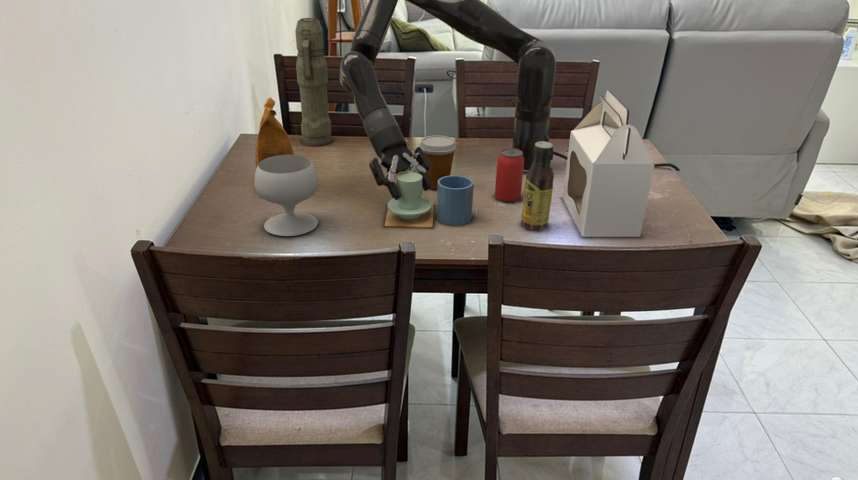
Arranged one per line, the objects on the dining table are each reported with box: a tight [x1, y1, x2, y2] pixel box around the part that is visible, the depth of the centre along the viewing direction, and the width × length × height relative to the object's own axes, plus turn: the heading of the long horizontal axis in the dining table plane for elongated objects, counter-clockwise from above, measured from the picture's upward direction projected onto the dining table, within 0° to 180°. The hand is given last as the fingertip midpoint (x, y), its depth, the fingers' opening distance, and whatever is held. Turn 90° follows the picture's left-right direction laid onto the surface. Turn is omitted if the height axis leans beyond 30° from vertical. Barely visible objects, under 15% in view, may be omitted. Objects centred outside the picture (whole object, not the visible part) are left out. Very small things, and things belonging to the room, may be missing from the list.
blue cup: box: [436, 174, 474, 226], centre depth 157 cm, size 8×8×9 cm
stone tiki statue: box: [294, 17, 332, 147], centre depth 195 cm, size 9×12×35 cm
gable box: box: [562, 90, 656, 238], centre depth 153 cm, size 22×13×28 cm, turn 1°
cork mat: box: [384, 204, 435, 229], centre depth 159 cm, size 11×12×1 cm
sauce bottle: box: [520, 141, 555, 231], centre depth 150 cm, size 7×6×20 cm
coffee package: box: [254, 97, 295, 169], centre depth 168 cm, size 10×12×22 cm
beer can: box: [494, 147, 524, 203], centre depth 166 cm, size 7×7×12 cm
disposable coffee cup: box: [418, 134, 457, 190], centre depth 173 cm, size 10×10×12 cm
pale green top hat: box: [386, 171, 433, 219], centre depth 157 cm, size 10×10×10 cm
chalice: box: [253, 154, 319, 237], centre depth 151 cm, size 14×14×15 cm
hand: (413, 194), depth 155 cm, fingers open, 8 cm apart
